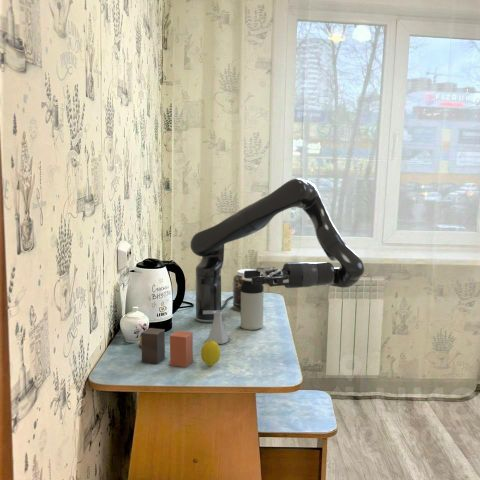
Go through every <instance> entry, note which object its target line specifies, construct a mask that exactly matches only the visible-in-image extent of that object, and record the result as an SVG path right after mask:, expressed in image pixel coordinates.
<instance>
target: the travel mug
mask: <svg viewBox="0 0 480 480" xmlns="http://www.w3.org/2000/svg"><path fill="white" fill-rule="evenodd" d="M242 280H243V284H242V285H241V311H240V328H241V329H243V330H247V331H256V330H260V329H262V328H263V327H264V289H265V286H264V284H263V285H262V284H261V285H253V284H252V278H245V277H244V276H243V277H242Z"/></svg>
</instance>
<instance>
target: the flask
mask: <svg viewBox="0 0 480 480" xmlns="http://www.w3.org/2000/svg"><path fill="white" fill-rule="evenodd" d="M223 312H224V311H223V310H221V311H220V310H217V311H213V314H214V321H213V322H212V325H211V328H210V331H209V334H208V336H207V340H206V342H208V341H210V340H212V341H214V342H216V343H217V344H218V345H221V344H222V345H223V344H226V343H227V342H229V336H228V333H227V330H226V328H225V324H224V322H223V314H224V313H223Z"/></svg>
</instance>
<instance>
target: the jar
mask: <svg viewBox="0 0 480 480" xmlns="http://www.w3.org/2000/svg"><path fill="white" fill-rule="evenodd" d="M250 270H255V268H254V269H253V268H242V269H238V270H237V274H234V276H233V280H232V281H233V282H232V296H233V298H232V309H233V310H235V311H237V312H241V285H242V284H243V280H242V277H243V276H244V271H250ZM262 285H263V286H264V284H262Z"/></svg>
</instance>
